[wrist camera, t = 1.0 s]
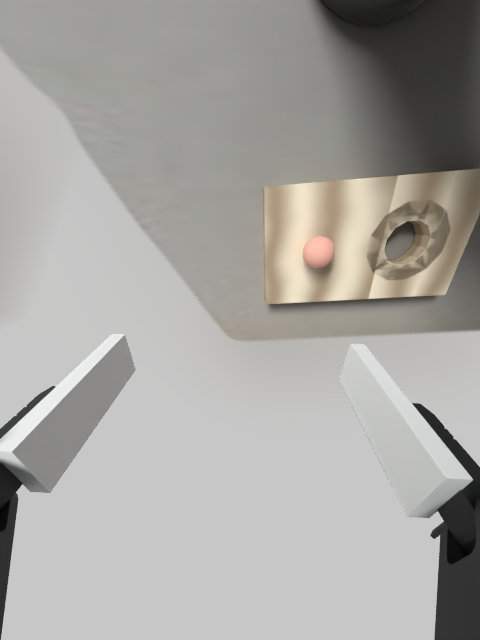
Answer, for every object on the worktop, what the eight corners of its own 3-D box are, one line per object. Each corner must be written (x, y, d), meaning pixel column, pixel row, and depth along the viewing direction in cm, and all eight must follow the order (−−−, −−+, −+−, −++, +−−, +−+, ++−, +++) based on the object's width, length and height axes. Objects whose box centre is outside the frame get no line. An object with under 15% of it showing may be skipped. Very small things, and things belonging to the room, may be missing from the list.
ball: (316, 227, 24) (326, 230, 21) (334, 248, 25) (346, 254, 22) (293, 250, 26) (300, 256, 23) (311, 269, 27) (320, 277, 24)
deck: (264, 297, 31) (265, 304, 29) (262, 188, 25) (264, 186, 23) (430, 288, 30) (445, 294, 28) (475, 170, 23) (499, 166, 21)
